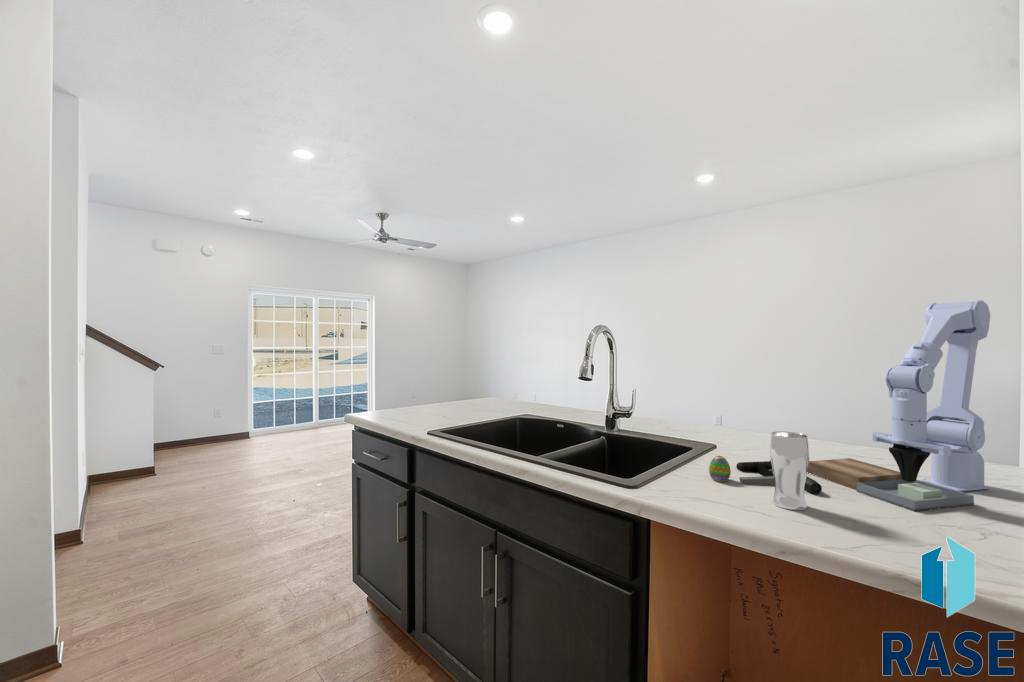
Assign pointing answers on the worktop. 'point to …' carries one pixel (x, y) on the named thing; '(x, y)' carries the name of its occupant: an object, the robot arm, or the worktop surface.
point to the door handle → (770, 476)
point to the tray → (889, 493)
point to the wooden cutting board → (851, 471)
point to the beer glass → (789, 468)
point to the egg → (719, 469)
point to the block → (918, 491)
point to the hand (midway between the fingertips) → (909, 480)
